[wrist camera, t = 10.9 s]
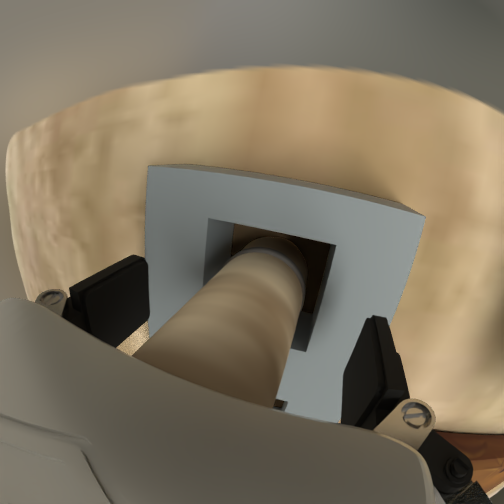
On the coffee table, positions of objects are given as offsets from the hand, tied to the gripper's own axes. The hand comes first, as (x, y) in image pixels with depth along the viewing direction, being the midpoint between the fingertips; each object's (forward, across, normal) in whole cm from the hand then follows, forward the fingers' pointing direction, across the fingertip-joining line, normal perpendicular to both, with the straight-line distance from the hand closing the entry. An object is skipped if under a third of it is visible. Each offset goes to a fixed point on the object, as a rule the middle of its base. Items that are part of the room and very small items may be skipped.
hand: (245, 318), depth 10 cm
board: (+6, 0, +5) cm, 8 cm away
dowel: (+6, 0, 0) cm, 6 cm away
